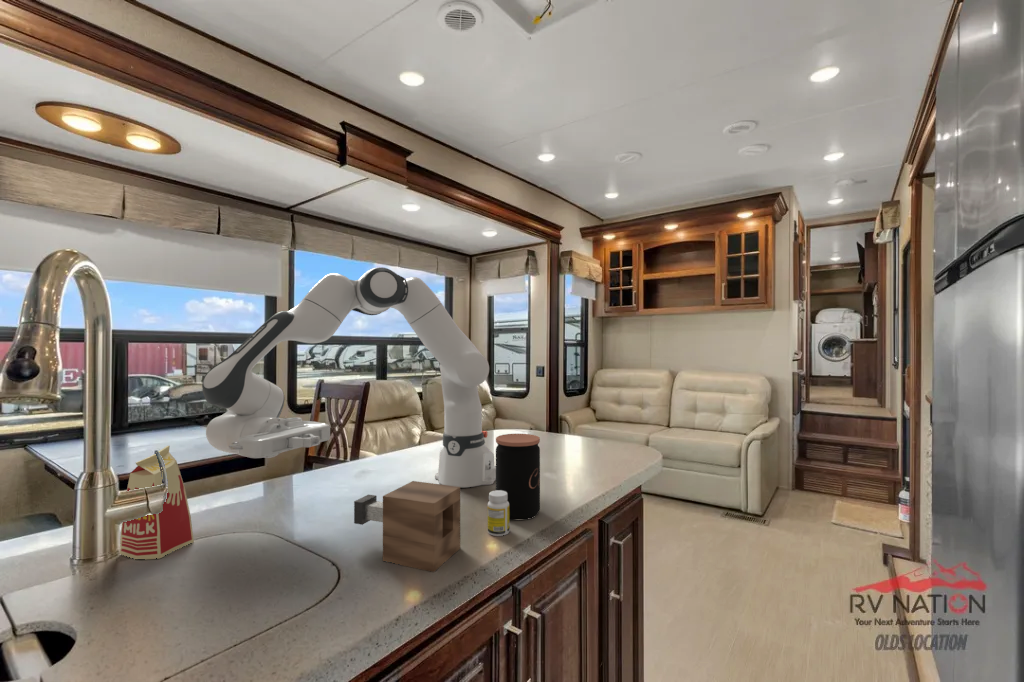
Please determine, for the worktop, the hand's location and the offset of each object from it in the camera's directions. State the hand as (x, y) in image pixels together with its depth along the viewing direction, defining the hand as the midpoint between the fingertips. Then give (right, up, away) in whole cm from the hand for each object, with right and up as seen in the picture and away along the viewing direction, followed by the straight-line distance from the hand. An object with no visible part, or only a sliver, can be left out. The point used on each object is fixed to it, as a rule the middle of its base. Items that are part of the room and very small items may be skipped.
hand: (315, 441), depth 98 cm
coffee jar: (+44, -20, +12) cm, 49 cm away
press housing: (+25, -20, -10) cm, 33 cm away
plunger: (+17, -15, -7) cm, 24 cm away
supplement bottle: (+39, -20, +1) cm, 44 cm away
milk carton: (-28, -20, -7) cm, 35 cm away
